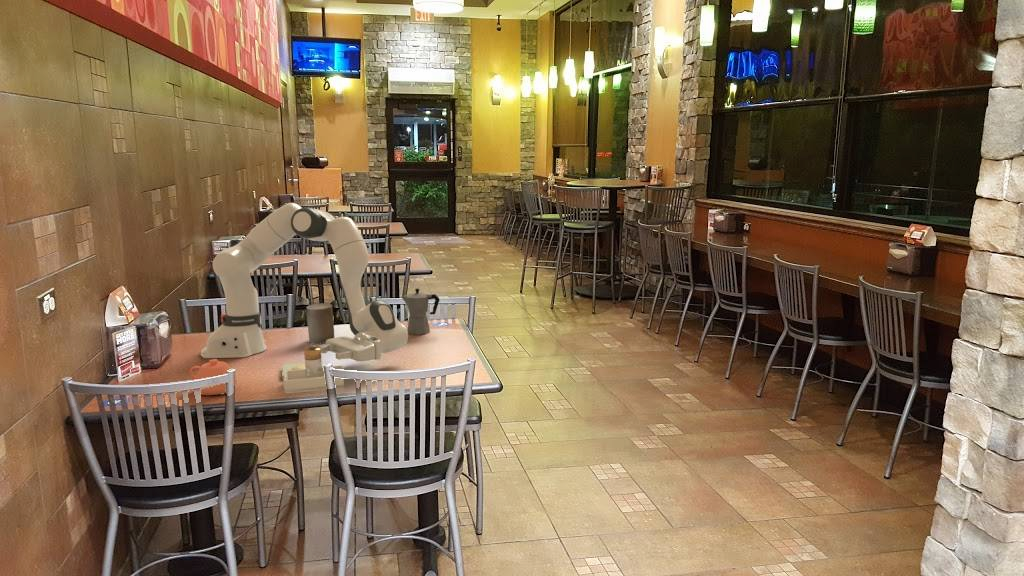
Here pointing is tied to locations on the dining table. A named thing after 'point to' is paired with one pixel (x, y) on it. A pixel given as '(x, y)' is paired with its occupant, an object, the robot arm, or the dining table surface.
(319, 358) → the battery cell
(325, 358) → the dining table surface
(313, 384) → the trough
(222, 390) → the sugar bowl
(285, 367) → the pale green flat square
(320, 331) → the pillar candle
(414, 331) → the coffeepot
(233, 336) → the robot arm
